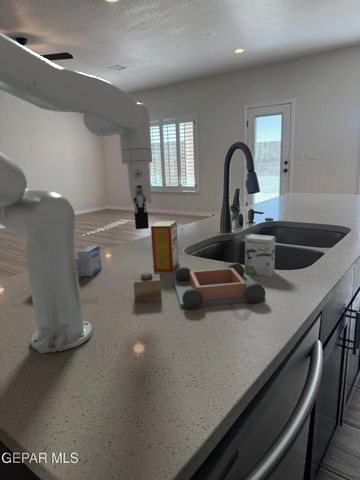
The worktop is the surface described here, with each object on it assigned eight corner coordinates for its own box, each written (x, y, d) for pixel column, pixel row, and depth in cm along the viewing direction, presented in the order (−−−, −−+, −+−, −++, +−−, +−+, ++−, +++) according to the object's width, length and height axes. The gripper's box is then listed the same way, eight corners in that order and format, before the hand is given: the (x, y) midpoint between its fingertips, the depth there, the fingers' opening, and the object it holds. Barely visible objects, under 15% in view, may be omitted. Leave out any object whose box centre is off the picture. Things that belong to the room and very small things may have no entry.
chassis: (267, 302, 85) (267, 283, 84) (181, 310, 83) (180, 291, 82) (244, 277, 103) (244, 261, 102) (174, 283, 101) (173, 267, 100)
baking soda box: (161, 263, 122) (158, 219, 118) (178, 263, 121) (176, 219, 117) (153, 271, 113) (150, 225, 109) (172, 271, 112) (170, 225, 108)
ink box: (244, 273, 107) (243, 237, 105) (249, 268, 112) (249, 233, 109) (271, 276, 103) (271, 239, 100) (275, 271, 107) (275, 235, 105)
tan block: (161, 301, 89) (160, 276, 88) (135, 303, 88) (133, 278, 87) (160, 294, 94) (159, 270, 92) (135, 296, 93) (133, 272, 92)
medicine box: (92, 276, 111) (89, 251, 109) (80, 276, 112) (76, 251, 110) (102, 269, 119) (99, 245, 117) (90, 268, 120) (87, 245, 118)
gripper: (153, 155, 75) (158, 230, 79) (150, 157, 92) (154, 218, 95) (119, 157, 74) (126, 233, 78) (122, 158, 91) (128, 220, 95)
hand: (141, 225), depth 87 cm, fingers open, 9 cm apart
